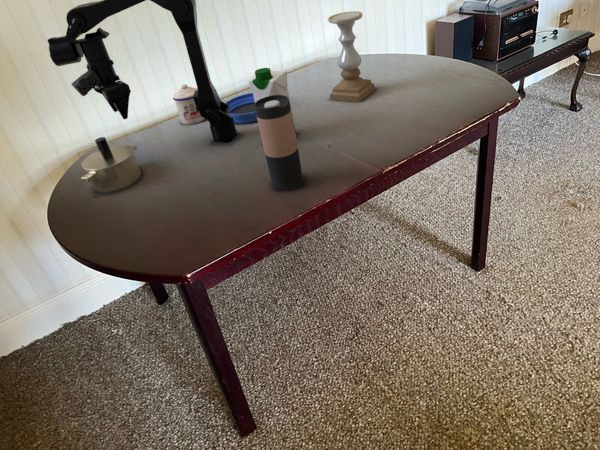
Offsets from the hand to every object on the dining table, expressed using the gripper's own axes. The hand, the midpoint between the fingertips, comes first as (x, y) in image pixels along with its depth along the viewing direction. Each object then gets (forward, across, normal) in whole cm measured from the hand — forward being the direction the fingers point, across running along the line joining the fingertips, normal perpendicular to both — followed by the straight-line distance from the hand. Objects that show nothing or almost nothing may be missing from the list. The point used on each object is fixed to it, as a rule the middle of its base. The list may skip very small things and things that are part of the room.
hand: (120, 115), depth 129 cm
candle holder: (+13, +18, +67) cm, 71 cm away
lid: (+6, +11, -9) cm, 16 cm away
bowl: (+13, +2, +39) cm, 41 cm away
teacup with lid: (+13, -11, +25) cm, 30 cm away
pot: (+13, +11, -9) cm, 19 cm away
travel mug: (+13, +49, +21) cm, 55 cm away
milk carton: (+13, +27, +34) cm, 45 cm away
